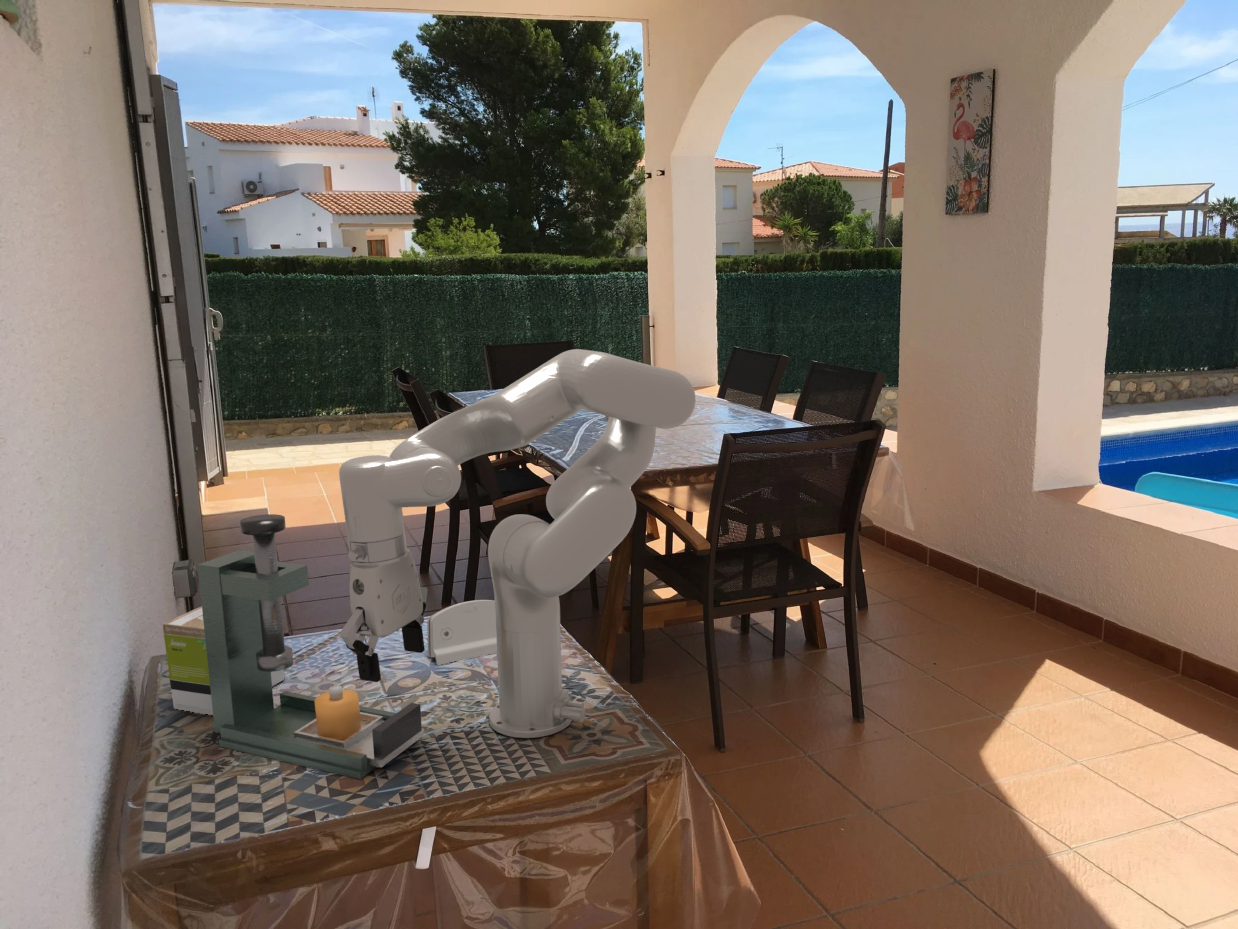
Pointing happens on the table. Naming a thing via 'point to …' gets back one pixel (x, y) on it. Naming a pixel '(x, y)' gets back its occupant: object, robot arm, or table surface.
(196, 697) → the tea box
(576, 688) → the table surface
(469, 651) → the hinge
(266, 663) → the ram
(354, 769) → the press
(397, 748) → the sliding bed
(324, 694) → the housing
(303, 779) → the table surface
